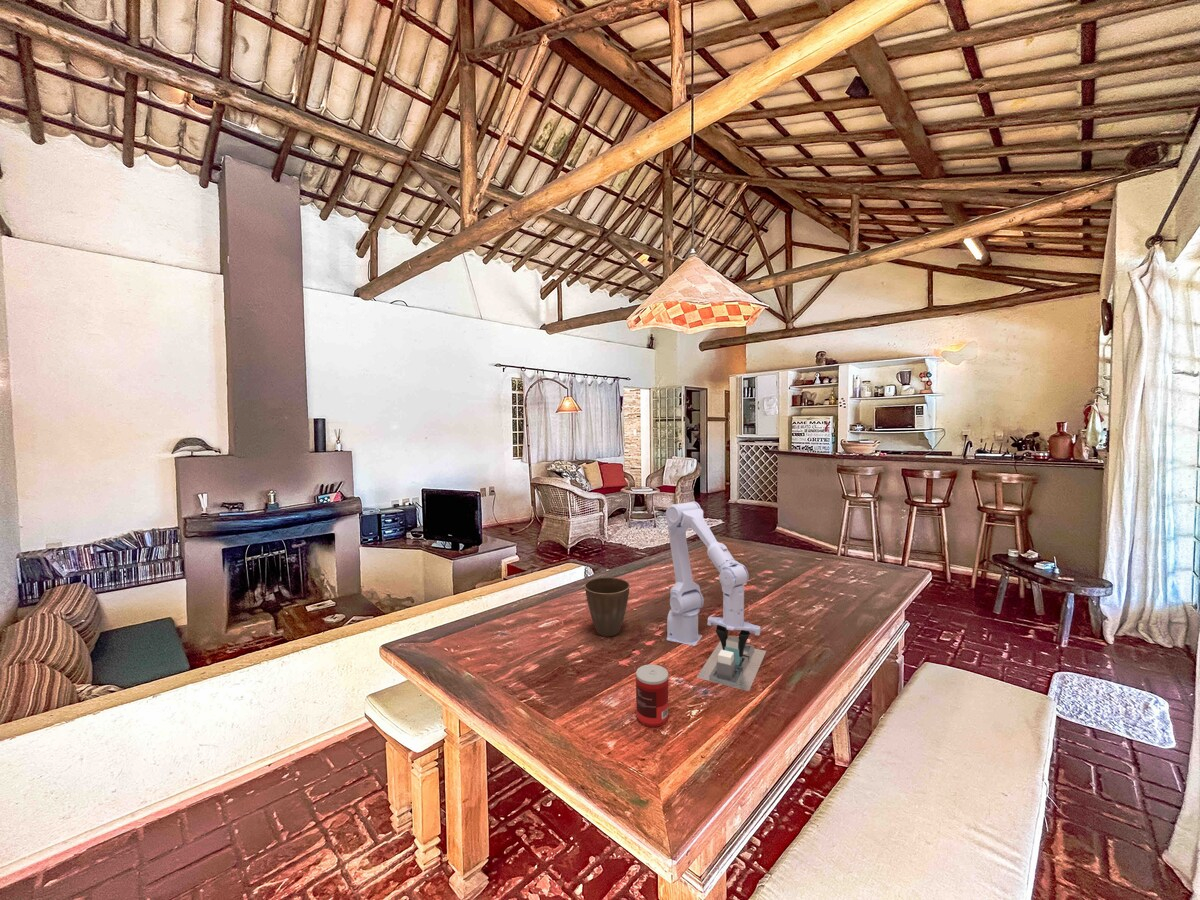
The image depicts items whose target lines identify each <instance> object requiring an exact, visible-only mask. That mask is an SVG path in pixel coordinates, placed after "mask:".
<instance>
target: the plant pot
mask: <svg viewBox="0 0 1200 900" xmlns="http://www.w3.org/2000/svg"><path fill="white" fill-rule="evenodd" d="M630 585H631V584H630V583H629V582H628V581H627V580H625V579H622V578H617V577H599V578H594V579H591V580H588V581H586V583H585V584H584V589H585V597H586V601H587V606H588V610H589V613H590V614H589V615H590V616H591V620H592V624H593V625H594V628H595V630H596V633H597V634H598V635H600V636H601V637H614V636H616V635H618V634H619V632H620V630H621V627H622V626H623V625H622V624H623V622H624V618H625V614H626V612H627V607H628V601H629V594H630V588H631V587H630Z"/></svg>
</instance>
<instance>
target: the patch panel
mask: <svg viewBox="0 0 1200 900" xmlns="http://www.w3.org/2000/svg"><path fill="white" fill-rule="evenodd" d="M721 650H723V648H722V644H721V641H720V640H719V642H718V643H717V645H716V646H715V648H714V649H713V651H712V653H711V654H710V655H709V657H708V659H707V660H706V662H705V664H704V665H703V666H702V668H701V669H700V671H699V673H698V674H697V676H696V678H697V679H701V680H704V681H708V682H712V683H716V684H720V685H724V686H728V687H731V688H735V689H739V690H742V691H747V692H750V690H751V687H752V685H753V682H754V681H755V678H756V676H757V673H758V672H759V669H760V666H761V665H762V662H763V660H764V657H765V655H766V653H767V650H762V649H760V648H759V649H758V648H755V645H752V644H748V643H746V644H745V647H744V652H743V656H742V660H741V662H740V664H739V666H738V665H735V676H734V678H733V680H729V679H725V678H721V677H717V661H718V654H719V653H720V651H721Z"/></svg>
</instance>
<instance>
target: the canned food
mask: <svg viewBox="0 0 1200 900" xmlns="http://www.w3.org/2000/svg"><path fill="white" fill-rule="evenodd" d="M635 704H636V705H635V708H636V709H635V713H636V714H635V715H636V718H637V720H638V721H639V722H640V724H642V725H644V726H646V727H649V728H657V727H661V726H662V725H664V724H665V723H667V720H668V718H669V672H668V670H667V669H666V668H665V667H664V666H661V665H658V664H645V665H641V666H640V667H638V668H637V669H636V672H635Z"/></svg>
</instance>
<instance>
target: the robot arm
mask: <svg viewBox="0 0 1200 900" xmlns="http://www.w3.org/2000/svg"><path fill="white" fill-rule="evenodd" d="M665 516H666V517H665V518H666V523H667V532H668V538H669V544H670V545H669V546H670V551H671V559H672V565H673V571H674V579H675V582H674V584H673V586H672V587H671V588H670V589H669V593H670V598H669V607H670V608H671V609H669V611H668V614H667V619H666V623H667V624H666V630H667V632H666V633H667V634H666V635H667V636H666V642H672V643H673V642H675V643H680V644H685V645H689V646H693V647H695V646H696V645H697V644H698V643H699V641H700V640H701V639H702V637H703V635H702V634H699V613H700V612H701V608H703V606H704V601H705V600H704V595H703V594H702V592H701V589H700V585H699V584H698V583H696V582H695V581H694V580H693V573H692V567H691V561H690V554H689V553H690V552H689V548H688V541H687V540H688V539H687V535H686V534H687V533H686V532H687V530H688V529H692V530H693V531H694V532H695V534H696V535H697V537H699V539H700V540H701V542H703V544H704V545H705V546H706V548H707V556H708V558H709V560H710V561H711V563H712V564H713V565H714V567H715V569H716V570H717V571H718V573H719V574H718V580H719V582H720V585H721V591H722V592H723V593H722V596H723V597H722V602H723V603H722V608H723V609H722V617H718V616H708V618H707V624H706V625H707V626H716V629H715V633H716V635H717V636H718V639H719V642H720V641H721V644H722V648H723V650H725V646H726V639H727V638H728V636H729V631H732V632H733V631H739V634H738V637H739V656H740V657H742V656H743V652H744V647H745V644H747V641H748V639H749V637H750V635H751V634H754V635H755V636H760V634H761V625H755V624H754V623H753V624H752V623H750V622H748V621H745V584H747V583H748V581H749V575H750V574H749V572H748V569H747V568H746V566H745V565H744V564H742V563H740V562H739V561H737V560H736V559H735V558H734V556H733V555H732V554H731V552H730V550H728V547H727V546H726V545H725V544H724V542H723V543H722V542H719V541H718V540H717V539H716V536H715V535H714V534H713V532H712V530H711V528H710V527H709V525H708V523H707V522H706V519H704V509H702V508H701V505H700V504H699V503H698V502H697V501H694V500H693V501H689V502H688V501H687V502H683V503H682V502H681V503H671V504H670V505H669V506H668V508H667V509H666V511H665Z"/></svg>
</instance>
